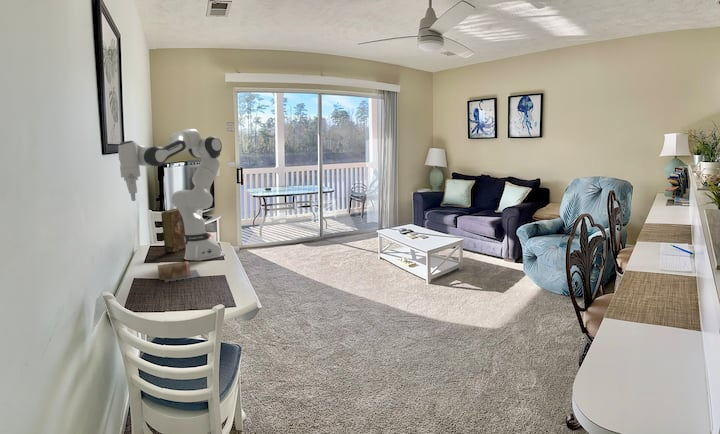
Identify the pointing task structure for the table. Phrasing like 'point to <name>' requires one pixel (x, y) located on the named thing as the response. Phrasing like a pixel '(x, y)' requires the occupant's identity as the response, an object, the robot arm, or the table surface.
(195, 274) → the mat
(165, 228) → the book
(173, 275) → the walnut block
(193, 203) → the robot arm
